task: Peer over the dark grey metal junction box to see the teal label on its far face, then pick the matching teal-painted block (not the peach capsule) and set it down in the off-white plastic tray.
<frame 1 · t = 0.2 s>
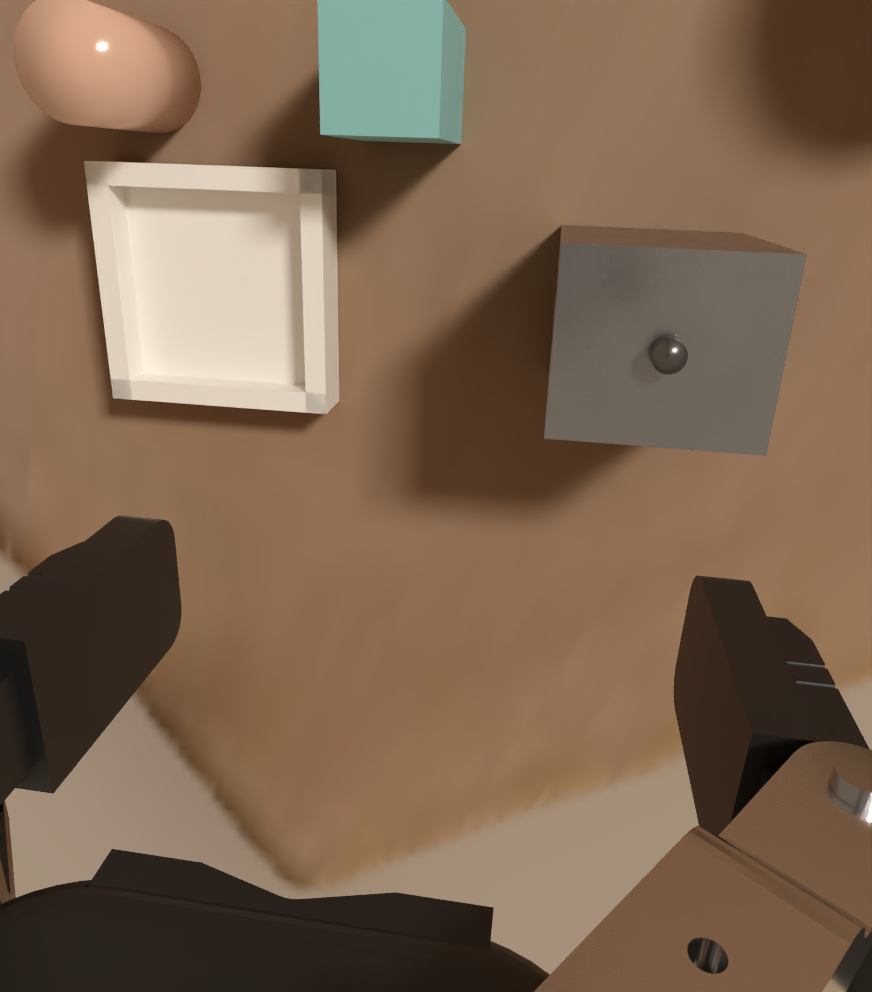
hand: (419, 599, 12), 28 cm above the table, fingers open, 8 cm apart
peach capsule: (154, 80, 37), on the table
junction box: (640, 308, 37), on the table
tray: (229, 285, 40), on the table
teal block: (412, 86, 35), on the table
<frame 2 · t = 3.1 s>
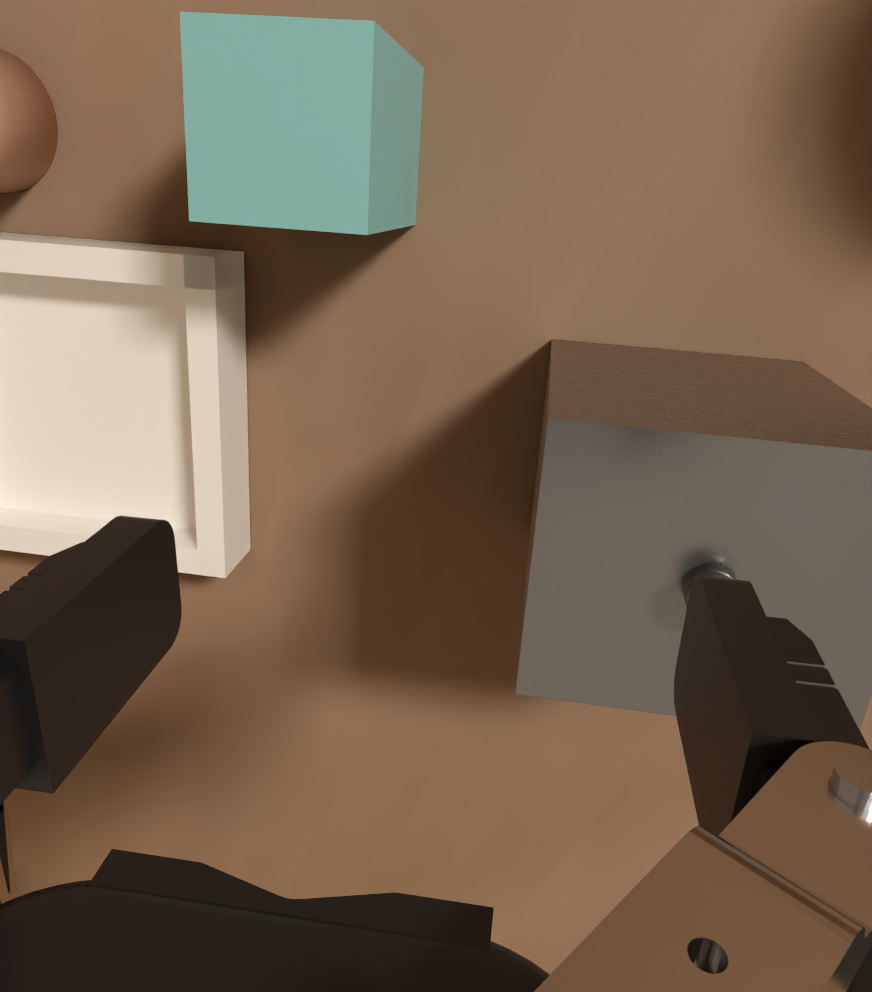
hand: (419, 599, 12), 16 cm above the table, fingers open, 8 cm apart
junction box: (657, 453, 27), on the table
tray: (103, 395, 29), on the table
teal block: (349, 144, 25), on the table
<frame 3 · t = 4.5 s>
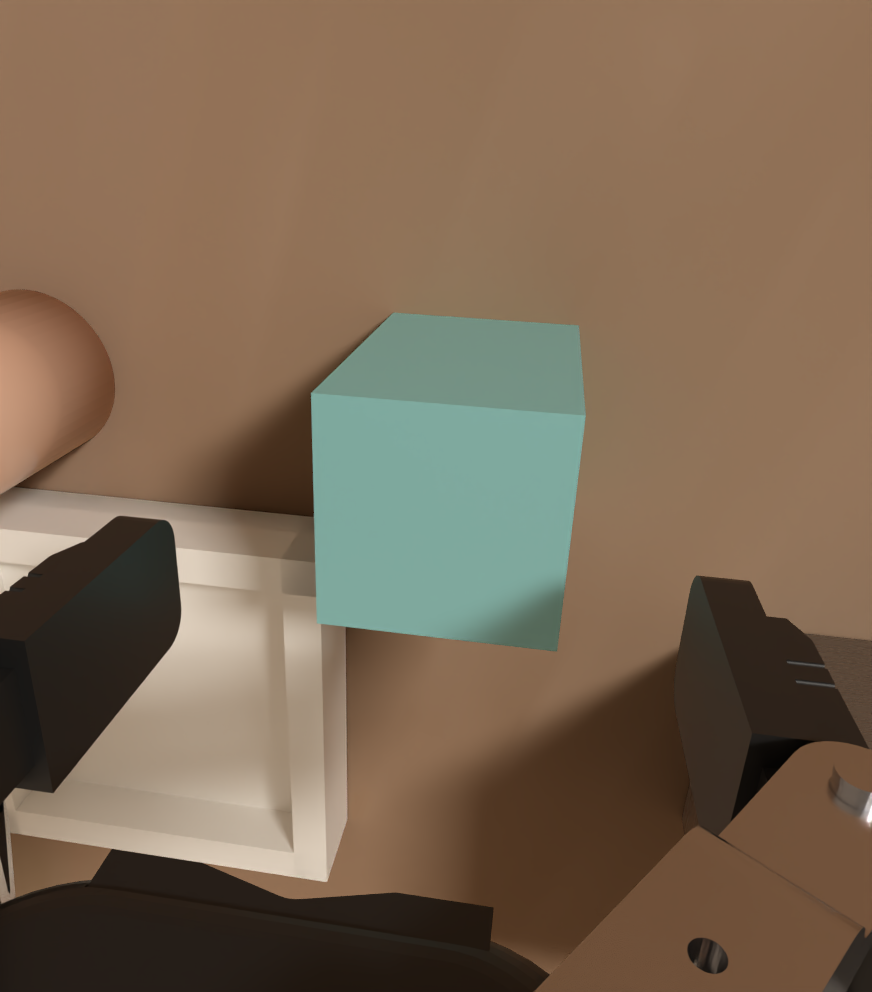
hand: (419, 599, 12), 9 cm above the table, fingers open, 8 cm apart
peach capsule: (37, 372, 22), on the table
junction box: (847, 746, 23), on the table
tray: (173, 661, 25), on the table
teal block: (479, 408, 20), on the table
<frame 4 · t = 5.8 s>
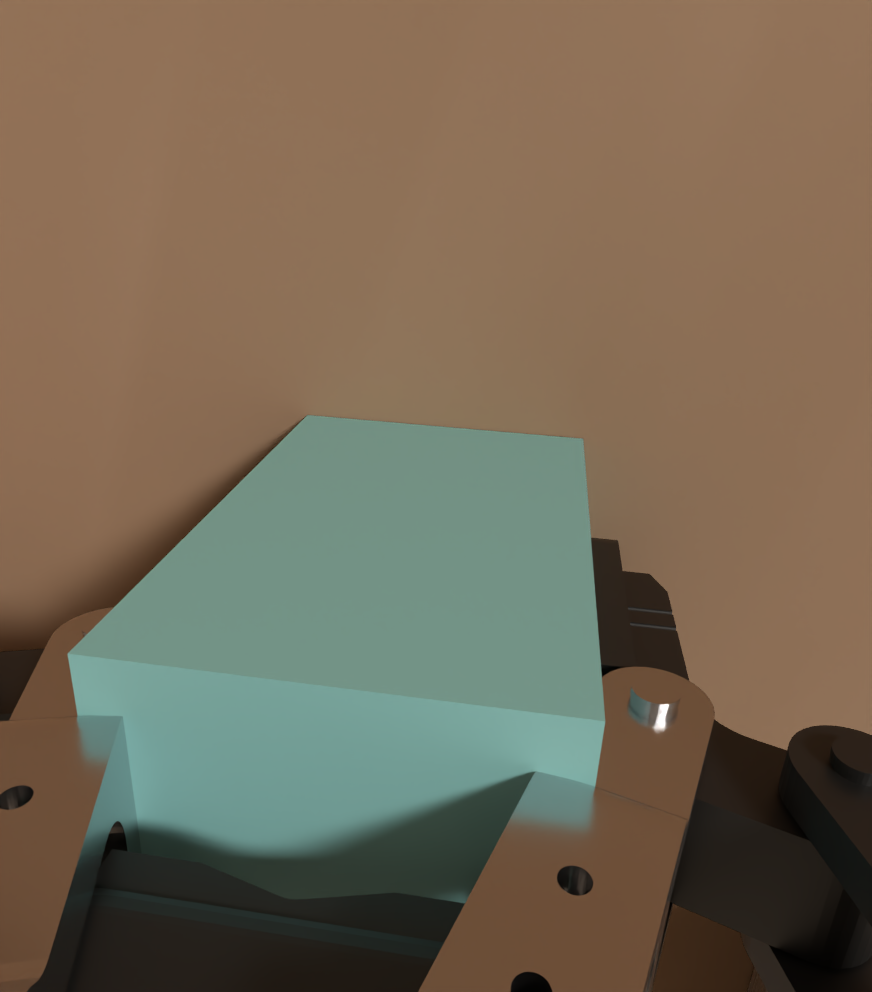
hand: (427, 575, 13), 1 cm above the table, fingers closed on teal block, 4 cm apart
teal block: (436, 551, 14), on the table, touching gripper
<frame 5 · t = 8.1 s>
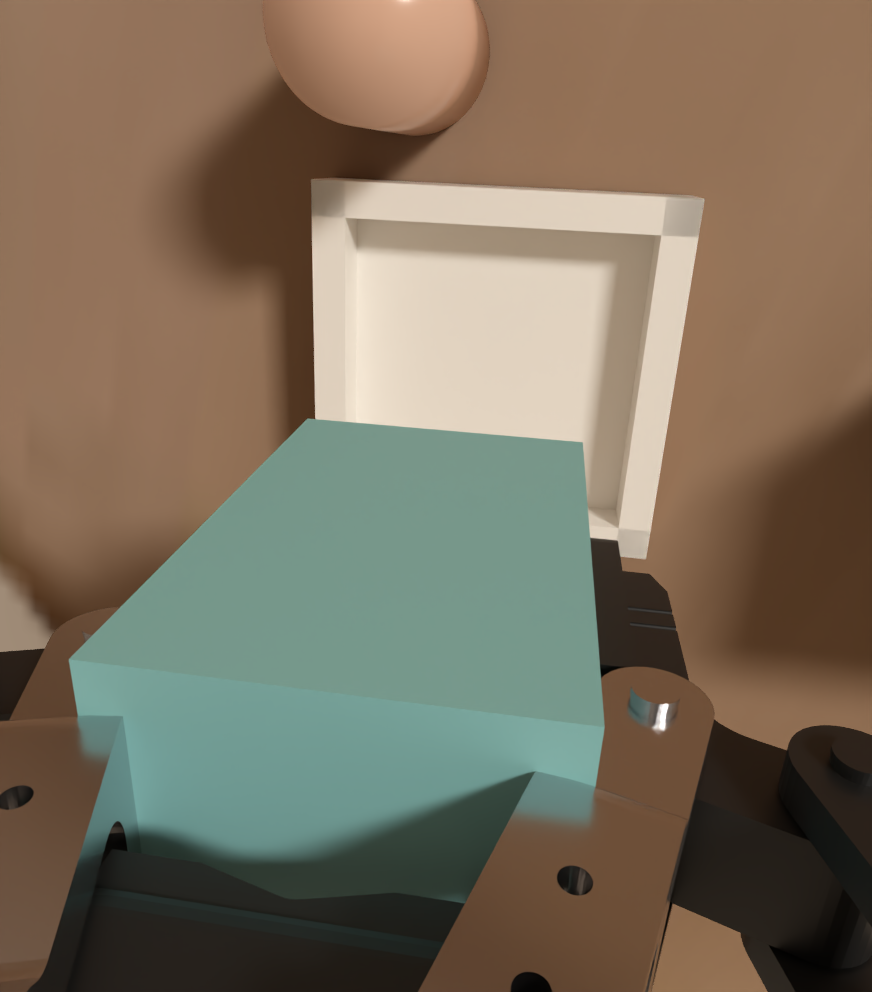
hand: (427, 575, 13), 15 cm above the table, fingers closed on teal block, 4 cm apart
peach capsule: (415, 54, 24), on the table
tray: (495, 362, 27), on the table
teal block: (436, 554, 14), point 14 cm above the table, touching gripper
when the fingers open (3 cm above the table, at t = 10.6 s): teal block drops 1 cm, resting on tray.
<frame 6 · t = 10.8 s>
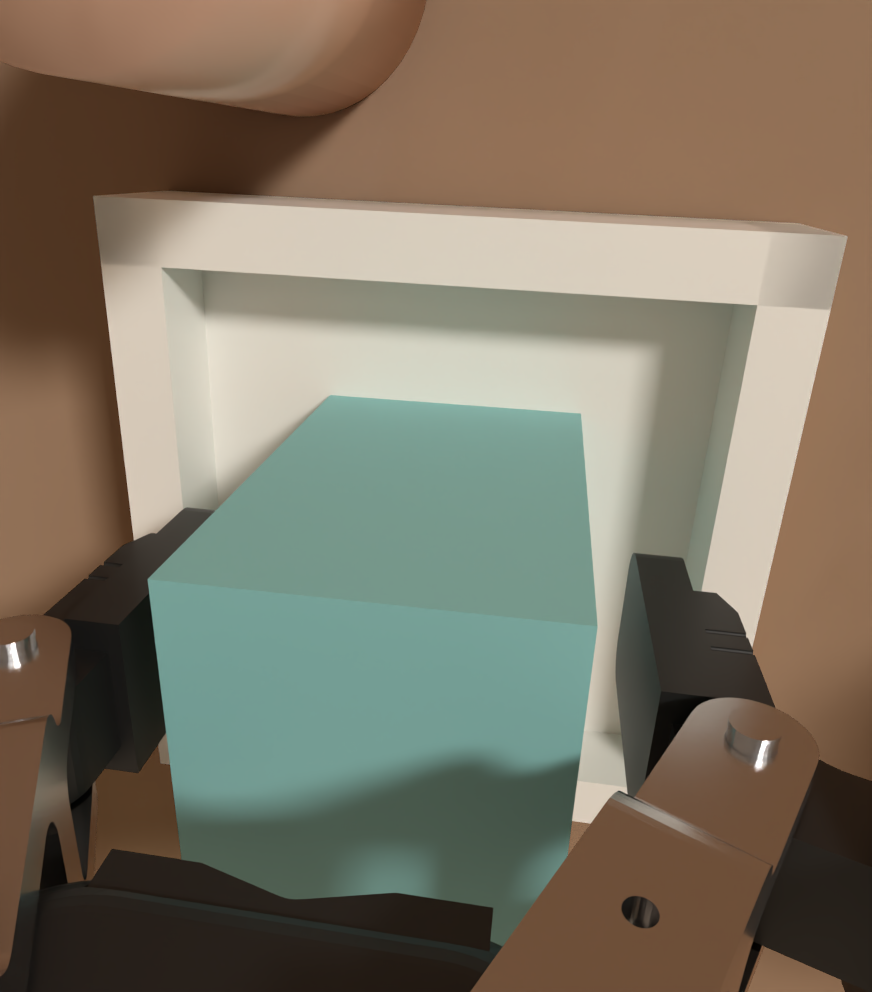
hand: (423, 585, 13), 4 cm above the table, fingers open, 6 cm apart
tray: (452, 497, 16), on the table
teal block: (448, 519, 15), point 1 cm above the table, touching tray
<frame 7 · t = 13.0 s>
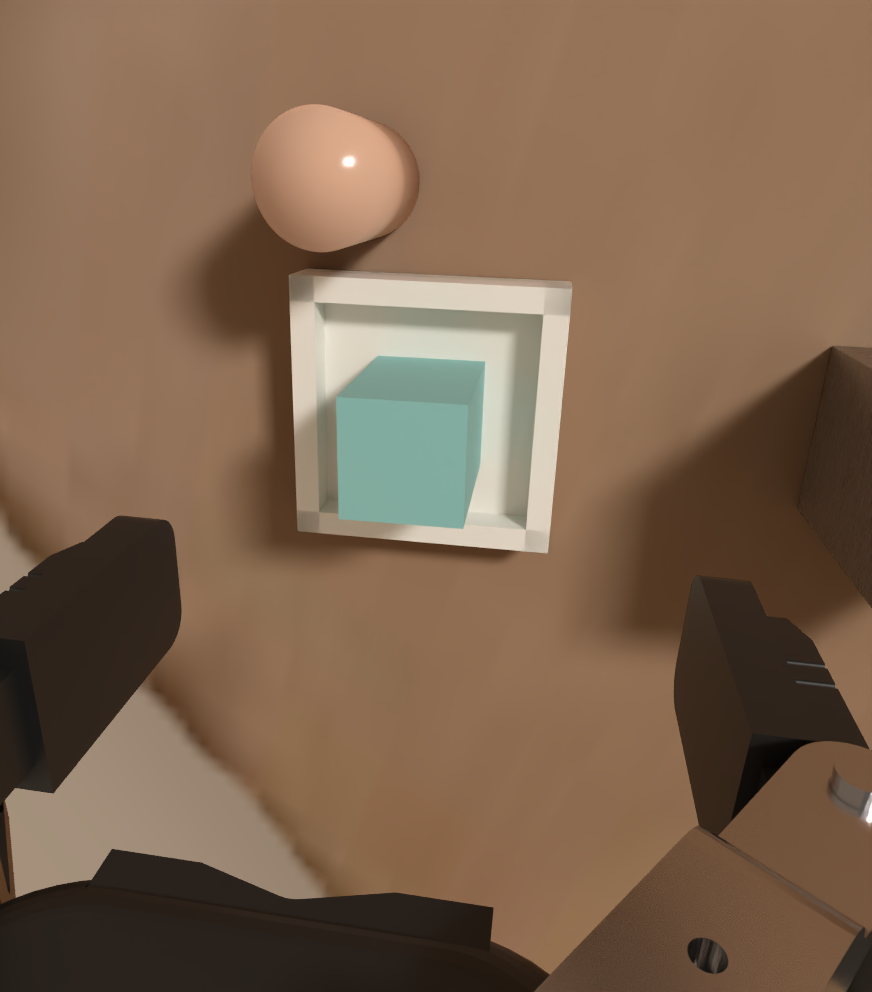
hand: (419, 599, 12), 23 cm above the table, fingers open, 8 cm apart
peach capsule: (365, 181, 32), on the table
tray: (432, 404, 35), on the table
teal block: (430, 410, 34), point 1 cm above the table, touching tray
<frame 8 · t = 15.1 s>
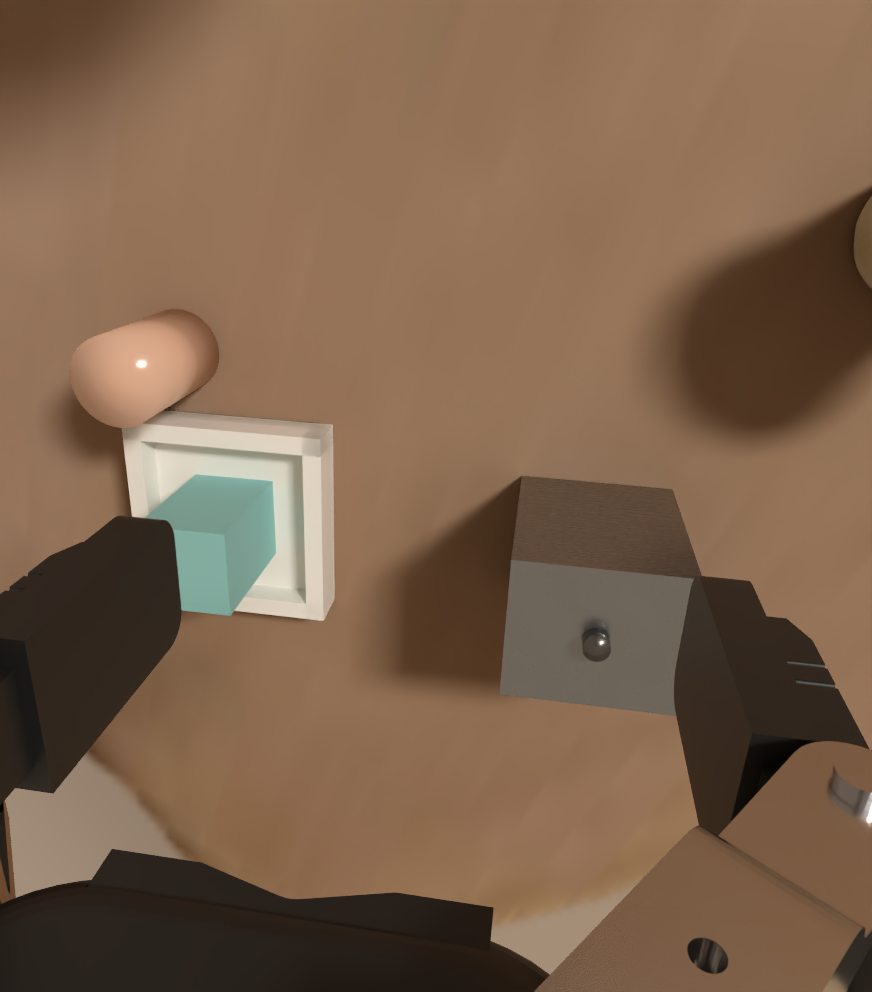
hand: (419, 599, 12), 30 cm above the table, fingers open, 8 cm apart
peach capsule: (180, 350, 43), on the table
junction box: (588, 541, 44), on the table
tray: (242, 506, 47), on the table
teal block: (236, 514, 46), point 1 cm above the table, touching tray
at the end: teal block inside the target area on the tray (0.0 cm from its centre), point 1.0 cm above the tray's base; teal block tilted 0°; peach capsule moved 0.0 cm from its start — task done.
